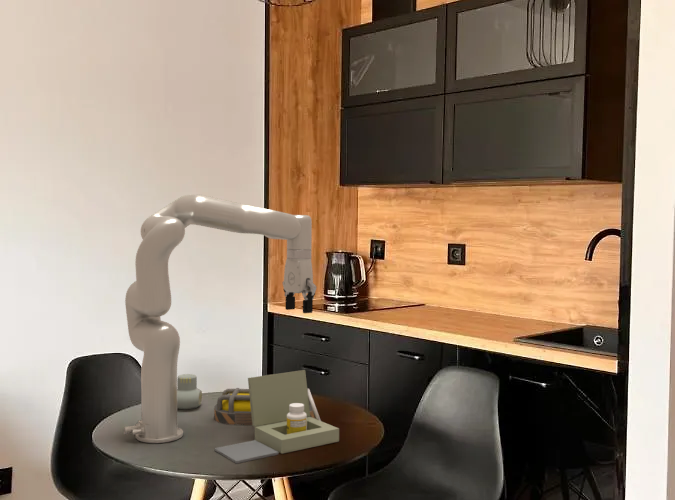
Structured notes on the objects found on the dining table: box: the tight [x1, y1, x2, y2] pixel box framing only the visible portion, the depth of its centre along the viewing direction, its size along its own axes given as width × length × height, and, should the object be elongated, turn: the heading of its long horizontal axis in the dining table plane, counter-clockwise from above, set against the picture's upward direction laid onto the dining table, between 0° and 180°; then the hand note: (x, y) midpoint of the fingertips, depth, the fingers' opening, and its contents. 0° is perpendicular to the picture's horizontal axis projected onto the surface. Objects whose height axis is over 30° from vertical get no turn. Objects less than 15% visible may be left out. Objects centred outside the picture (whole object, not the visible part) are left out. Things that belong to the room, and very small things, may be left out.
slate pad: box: [213, 439, 279, 464], centre depth 189 cm, size 12×12×1 cm
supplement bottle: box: [287, 403, 307, 434], centre depth 199 cm, size 5×5×10 cm
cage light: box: [213, 387, 316, 426], centre depth 220 cm, size 15×8×30 cm
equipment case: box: [247, 369, 340, 455], centre depth 200 cm, size 19×18×16 cm
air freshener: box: [177, 373, 203, 410], centre depth 231 cm, size 11×8×10 cm
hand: (298, 311), depth 226 cm, fingers open, 9 cm apart
